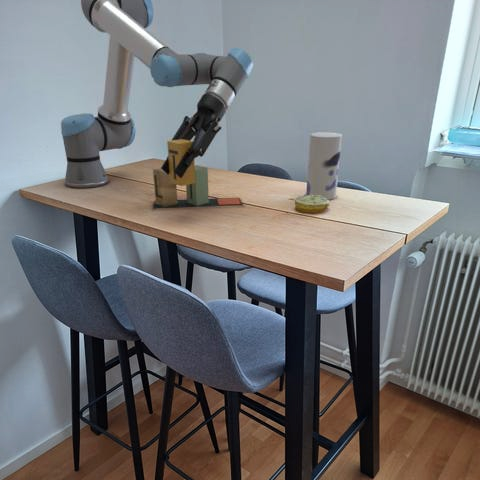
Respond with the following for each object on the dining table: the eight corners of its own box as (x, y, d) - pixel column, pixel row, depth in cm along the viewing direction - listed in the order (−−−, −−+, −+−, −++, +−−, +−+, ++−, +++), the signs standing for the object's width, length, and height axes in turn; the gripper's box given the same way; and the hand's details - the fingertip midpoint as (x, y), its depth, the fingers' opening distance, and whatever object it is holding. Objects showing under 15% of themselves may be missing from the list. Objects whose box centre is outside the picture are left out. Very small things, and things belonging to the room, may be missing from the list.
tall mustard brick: (169, 182, 131) (166, 141, 125) (184, 179, 134) (181, 139, 128) (180, 186, 127) (178, 143, 122) (195, 183, 131) (193, 141, 125)
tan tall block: (155, 203, 150) (152, 168, 144) (168, 200, 153) (165, 166, 148) (164, 207, 147) (161, 171, 141) (177, 203, 150) (175, 168, 144)
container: (328, 202, 154) (335, 137, 144) (301, 197, 158) (305, 134, 148) (340, 195, 161) (346, 133, 151) (313, 191, 165) (318, 130, 155)
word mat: (153, 210, 146) (153, 207, 146) (154, 202, 154) (154, 199, 153) (242, 206, 149) (242, 204, 149) (239, 199, 157) (239, 196, 156)
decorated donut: (335, 209, 147) (336, 197, 145) (315, 216, 140) (316, 204, 138) (307, 202, 153) (308, 190, 151) (287, 209, 146) (288, 197, 144)
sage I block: (186, 202, 151) (184, 167, 146) (198, 199, 154) (197, 165, 149) (196, 206, 148) (195, 170, 142) (208, 202, 151) (207, 167, 146)
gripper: (186, 90, 131) (142, 159, 129) (230, 94, 120) (183, 170, 118) (201, 109, 137) (160, 175, 135) (245, 115, 126) (200, 187, 124)
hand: (171, 172), depth 127 cm, fingers closed on tall mustard brick, 5 cm apart
